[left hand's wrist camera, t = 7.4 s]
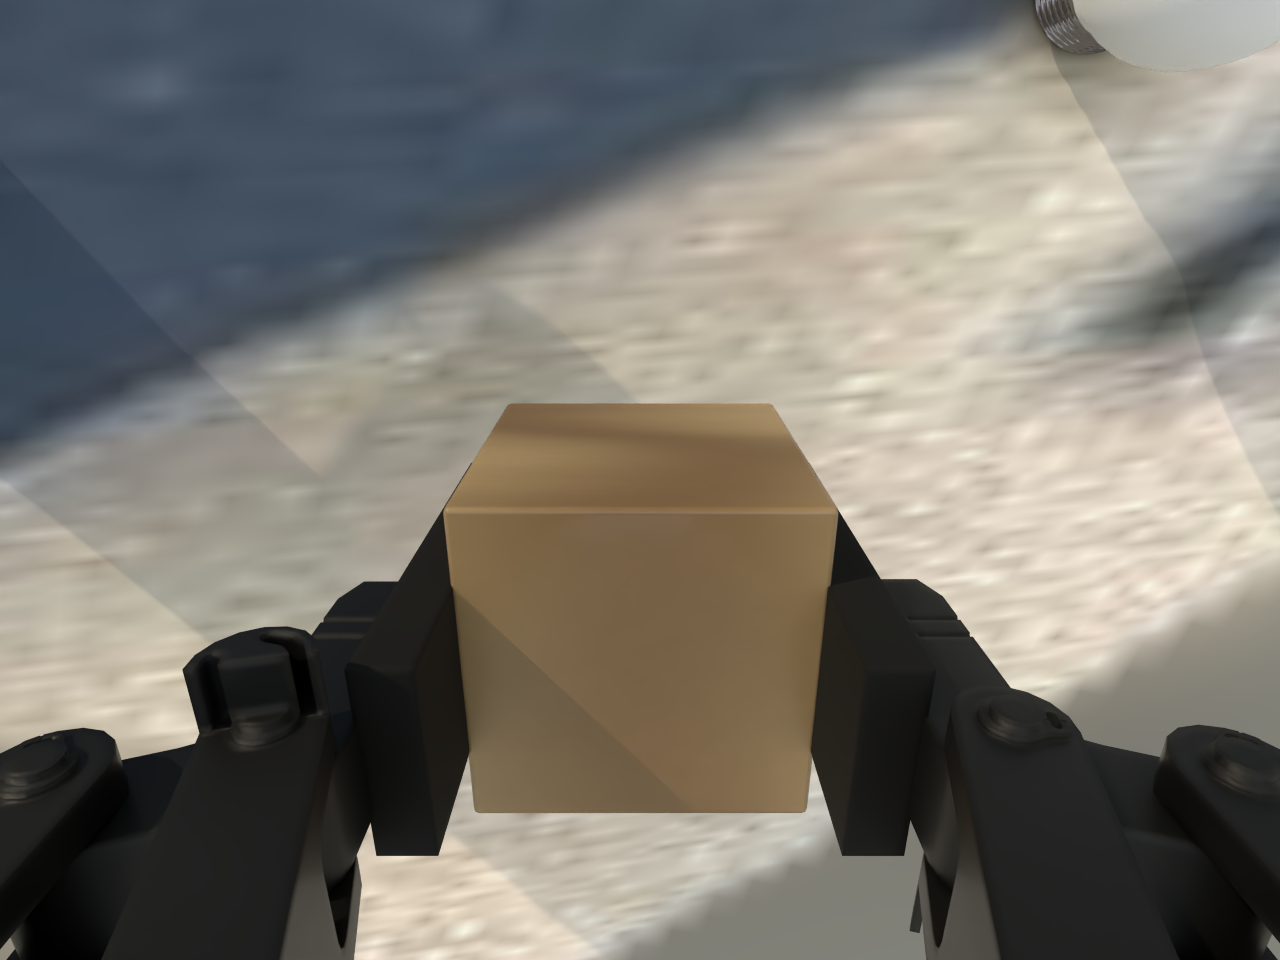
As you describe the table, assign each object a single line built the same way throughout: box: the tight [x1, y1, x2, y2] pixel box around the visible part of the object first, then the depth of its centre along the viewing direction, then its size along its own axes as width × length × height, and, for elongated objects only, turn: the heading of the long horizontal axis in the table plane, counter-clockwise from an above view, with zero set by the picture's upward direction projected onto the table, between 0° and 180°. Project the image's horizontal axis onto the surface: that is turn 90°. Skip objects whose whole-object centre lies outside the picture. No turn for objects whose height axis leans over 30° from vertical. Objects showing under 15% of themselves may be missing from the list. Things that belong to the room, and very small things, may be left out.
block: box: [443, 404, 838, 813], centre depth 12 cm, size 5×5×5 cm
